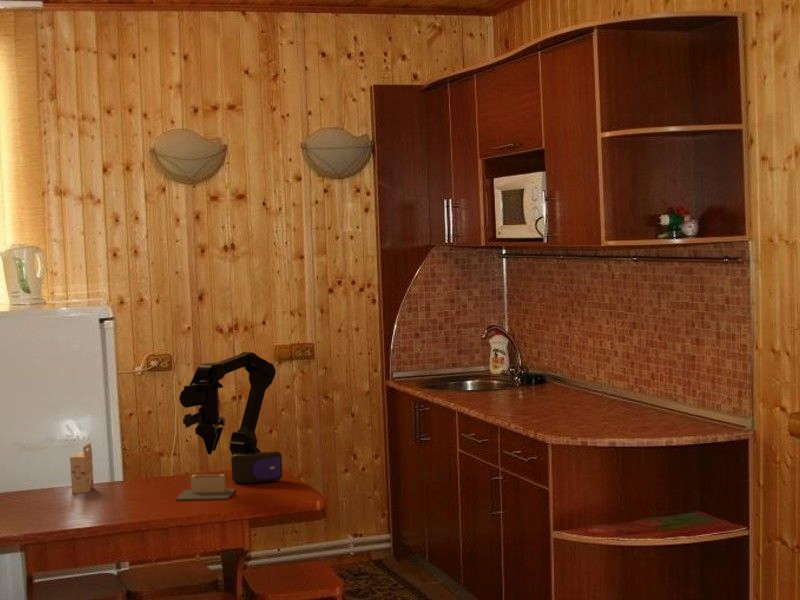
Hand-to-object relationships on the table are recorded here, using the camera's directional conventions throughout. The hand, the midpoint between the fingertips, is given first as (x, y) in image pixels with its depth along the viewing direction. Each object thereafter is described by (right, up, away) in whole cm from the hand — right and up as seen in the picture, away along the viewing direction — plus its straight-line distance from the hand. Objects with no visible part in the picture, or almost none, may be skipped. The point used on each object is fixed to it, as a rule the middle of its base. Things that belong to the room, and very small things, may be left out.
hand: (211, 452), depth 376 cm
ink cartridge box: (-42, -13, +3) cm, 44 cm away
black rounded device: (+14, -11, +9) cm, 19 cm away
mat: (0, -12, -10) cm, 16 cm away
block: (0, -11, -7) cm, 13 cm away
